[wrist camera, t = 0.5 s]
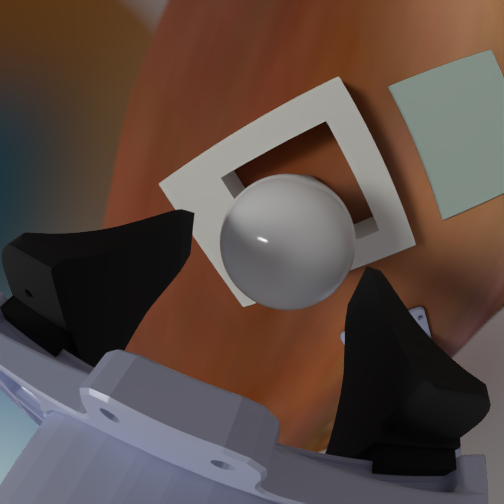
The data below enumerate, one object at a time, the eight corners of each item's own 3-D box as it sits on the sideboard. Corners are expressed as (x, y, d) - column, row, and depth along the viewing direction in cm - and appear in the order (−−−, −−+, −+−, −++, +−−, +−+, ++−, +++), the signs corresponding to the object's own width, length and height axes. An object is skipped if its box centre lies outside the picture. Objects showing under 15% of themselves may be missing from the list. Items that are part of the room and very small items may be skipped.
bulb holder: (409, 228, 20) (416, 244, 18) (251, 289, 26) (243, 307, 24) (338, 78, 16) (338, 76, 14) (174, 174, 23) (158, 183, 21)
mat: (529, 178, 15) (532, 179, 14) (441, 217, 19) (442, 220, 18) (488, 50, 11) (491, 49, 11) (387, 86, 16) (388, 86, 15)
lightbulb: (331, 133, 18) (328, 176, 9) (360, 218, 21) (373, 325, 11) (246, 163, 21) (170, 230, 12) (280, 240, 23) (238, 346, 14)
